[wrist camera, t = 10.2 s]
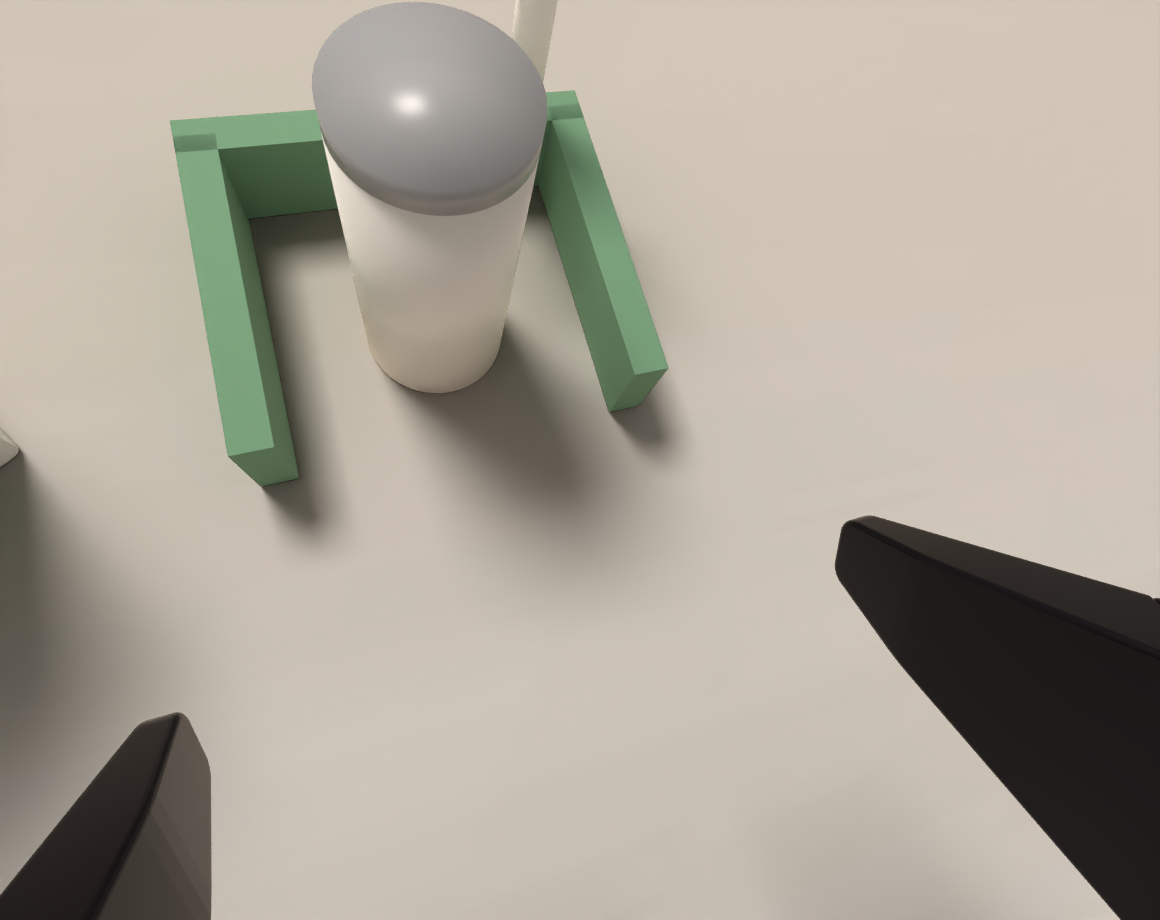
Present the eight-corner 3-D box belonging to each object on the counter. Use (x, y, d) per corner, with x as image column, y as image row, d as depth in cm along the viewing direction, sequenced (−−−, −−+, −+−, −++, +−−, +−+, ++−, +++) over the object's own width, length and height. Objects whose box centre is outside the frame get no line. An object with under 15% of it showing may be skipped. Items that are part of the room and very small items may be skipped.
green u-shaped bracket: (638, 405, 25) (768, 243, 15) (260, 486, 21) (106, 344, 12) (558, 158, 27) (625, -122, 17) (207, 194, 24) (42, -131, 14)
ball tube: (501, 279, 25) (546, 22, 15) (500, 396, 24) (549, 203, 14) (370, 268, 24) (321, -16, 14) (362, 389, 23) (301, 175, 13)
